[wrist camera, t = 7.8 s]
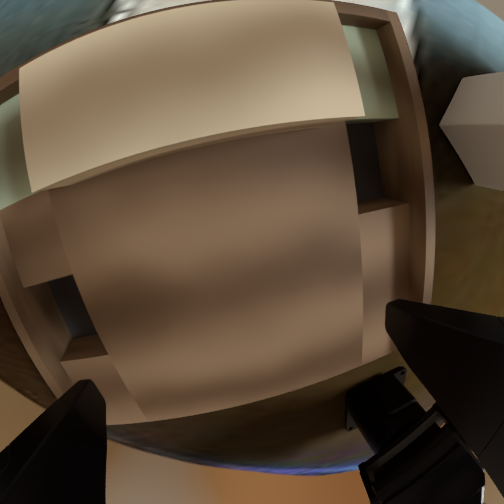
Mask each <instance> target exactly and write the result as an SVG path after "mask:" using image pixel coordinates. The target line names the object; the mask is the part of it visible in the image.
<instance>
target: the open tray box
mask: <svg viewBox="0 0 504 504" xmlns="http://www.w3.org/2000/svg"><path fill="white" fill-rule="evenodd" d="M222 1H233V0H211V1H203V2H196V3H190V4H184V5H179V6H173V7H169V8H164V9H159V10H155V11H151V12H147V13H143V14H140V15H136V16H132V17H129V18H126V19H122V20H119V21H116V22H113V23H110V24H107V25H104V26H102V27H99V28H96V29H94V30H91V31H89V32H86V33H84V34H81V35H79V36H76V37H74V38H72V39H70V40H67V41H65V42H63V43H61V44H59V45H57V46H55V47H53V48H51V49H49V50H47V51H45V52H43V53H41V54H39V55H37V56H35V57H33V58H32V59H30V60H28V61H26V62H25V63H23V64H21V65H20V66H18V67H16V68H15V69H13V70H12V71H10V72H8V73H7V74H5V75H4V76H2V77H1V78H0V297H1V300H2V302H3V304H4V306H5V309H6V311H7V313H8V315H9V317H10V320H11V322H12V324H13V326H14V328H15V330H16V332H17V334H18V336H19V337H20V339H21V341H22V343H23V345H24V347H25V349H26V350H27V352H28V354H29V356H30V357H31V359H32V361H33V362H34V364H35V366H36V367H37V369H38V371H39V372H40V374H41V375H42V377H43V378H44V380H45V381H46V383H47V385H48V386H49V387H50V389H51V390H52V392H53V393H54V395H55V396H56V398H57V399H59V398H60V397H61V396H62V395H63V394H64V393H65V392H66V391H67V390H68V389H70V388H71V387H72V386H73V385H74V384H75V383H76V382H77V381H79V380H83V379H91V380H92V381H93V382H94V383H95V385H96V386H97V388H98V389H99V391H100V392H101V394H102V395H103V397H104V399H105V402H106V425H117V424H129V423H140V422H149V421H158V420H165V419H172V418H179V417H185V416H191V415H196V414H202V413H207V412H212V411H217V410H222V409H226V408H231V407H235V406H239V405H243V404H247V403H251V402H255V401H259V400H263V399H266V398H270V397H273V396H277V395H280V394H283V393H287V392H290V391H293V390H296V389H299V388H303V387H306V386H309V385H311V384H314V383H317V382H320V381H323V380H326V379H328V378H331V377H334V376H336V375H339V374H342V373H344V372H347V371H349V370H352V369H354V368H357V367H359V366H362V365H364V364H366V363H369V362H371V361H373V360H376V359H378V358H380V357H382V356H384V355H387V354H389V353H391V352H393V351H395V350H397V347H396V346H395V344H394V343H393V341H392V340H391V338H390V337H389V335H388V334H387V332H386V329H385V309H386V304H387V303H388V302H390V301H392V300H395V299H398V298H399V299H404V300H410V301H415V302H420V303H426V304H431V297H432V287H433V275H434V258H435V196H434V179H433V167H432V158H431V149H430V141H429V134H428V128H427V122H426V116H425V110H424V105H423V100H422V96H421V91H420V87H419V82H418V78H417V74H416V71H415V67H414V63H413V60H412V56H411V53H410V50H409V46H408V43H407V40H406V37H405V34H404V31H403V28H402V26H401V23H400V20H399V17H398V15H397V13H395V12H391V11H387V10H383V9H379V8H374V7H369V6H364V5H359V4H353V3H347V2H340V1H332V0H314V1H325V2H334V5H335V7H336V10H337V13H338V16H339V19H340V22H341V25H342V28H343V31H344V34H345V37H346V40H347V44H348V47H349V51H350V54H351V58H352V61H353V65H354V69H355V73H356V77H357V81H358V85H359V89H360V94H361V98H362V103H363V108H364V112H365V116H364V117H360V118H355V119H351V120H347V121H343V122H339V123H335V124H331V125H328V126H324V127H319V128H310V129H301V130H293V131H286V132H278V133H272V134H265V135H259V136H253V137H247V138H242V139H236V140H231V141H226V142H221V143H216V144H211V145H207V146H202V147H198V148H193V149H189V150H185V151H181V152H177V153H173V154H169V155H165V156H161V157H158V158H154V159H150V160H147V161H143V162H140V163H137V164H133V165H130V166H127V167H123V168H120V169H117V170H114V171H111V172H108V173H105V174H102V175H99V176H96V177H93V178H90V179H88V180H85V181H82V182H79V183H77V184H74V185H68V186H63V187H58V188H53V189H48V190H43V191H38V192H34V193H32V191H31V186H30V181H29V176H28V171H27V165H26V159H25V152H24V145H23V137H22V127H21V116H20V98H19V68H21V67H23V66H24V65H26V64H28V63H29V62H31V61H33V60H35V59H37V58H38V57H40V56H42V55H44V54H46V53H48V52H50V51H52V50H54V49H56V48H58V47H60V46H62V45H64V44H66V43H69V42H71V41H73V40H75V39H78V38H80V37H83V36H85V35H87V34H90V33H93V32H95V31H98V30H100V29H103V28H106V27H109V26H112V25H115V24H118V23H121V22H124V21H127V20H131V19H134V18H138V17H141V16H145V15H149V14H153V13H157V12H161V11H166V10H170V9H175V8H181V7H186V6H192V5H198V4H205V3H213V2H222Z"/></svg>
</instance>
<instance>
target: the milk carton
mask: <svg viewBox="0 0 504 504" xmlns="http://www.w3.org/2000/svg"><path fill="white" fill-rule="evenodd" d="M439 126H440V128H441V129H442V130H443V132H444V133H445V135H446V136H447V138H448V140H449V141H450V143H451V144H452V146H453V147H454V149H455V151H456V152H457V154H458V155H459V157H460V159H461V160H462V162H463V164H464V166H465V167H466V169H467V171H468V173H469V174H470V176H471V178H472V180H473V182H474V184H475V185H477V186H482V187H488V188H493V189H498V190H502V191H504V72H498V73H490V74H483V75H476V76H470V77H465V78H462V80H461V82H460V84H459V86H458V88H457V90H456V92H455V94H454V96H453V98H452V100H451V102H450V104H449V106H448V108H447V110H446V112H445V114H444V116H443V118H442V120H441V122H440V124H439Z"/></svg>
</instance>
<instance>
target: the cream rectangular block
mask: <svg viewBox="0 0 504 504" xmlns="http://www.w3.org/2000/svg"><path fill="white" fill-rule="evenodd" d="M19 98H20V116H21V127H22V137H23V145H24V152H25V159H26V165H27V171H28V176H29V181H30V186H31V191H32V193H34V192H38V191H43V190H48V189H53V188H58V187H63V186H68V185H74V184H77V183H79V182H82V181H85V180H88V179H90V178H93V177H96V176H99V175H102V174H105V173H108V172H111V171H114V170H117V169H120V168H123V167H127V166H130V165H133V164H137V163H140V162H143V161H147V160H150V159H154V158H158V157H161V156H165V155H169V154H173V153H177V152H181V151H185V150H189V149H193V148H198V147H202V146H207V145H211V144H216V143H221V142H226V141H231V140H236V139H242V138H247V137H253V136H259V135H265V134H272V133H278V132H286V131H293V130H301V129H310V128H319V127H324V126H328V125H331V124H335V123H339V122H343V121H347V120H351V119H355V118H360V117H364V116H365V112H364V108H363V103H362V98H361V94H360V89H359V85H358V81H357V77H356V73H355V69H354V65H353V61H352V58H351V54H350V51H349V47H348V44H347V40H346V37H345V34H344V31H343V28H342V25H341V22H340V19H339V16H338V13H337V10H336V7H335V5H334V2H325V1H314V0H233V1H222V2H213V3H205V4H198V5H192V6H186V7H181V8H175V9H170V10H166V11H161V12H157V13H153V14H149V15H145V16H141V17H138V18H134V19H131V20H127V21H124V22H121V23H118V24H115V25H112V26H109V27H106V28H103V29H100V30H98V31H95V32H93V33H90V34H87V35H85V36H83V37H80V38H78V39H75V40H73V41H71V42H69V43H66V44H64V45H62V46H60V47H58V48H56V49H54V50H52V51H50V52H48V53H46V54H44V55H42V56H40V57H38V58H37V59H35V60H33V61H31V62H29V63H28V64H26V65H24V66H23V67H21V68H19Z"/></svg>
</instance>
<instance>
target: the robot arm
mask: <svg viewBox="0 0 504 504" xmlns="http://www.w3.org/2000/svg"><path fill="white" fill-rule="evenodd" d="M385 329H386V332H387V334H388V335H389V337H390V338H391V340H392V341H393V343H394V344H395V346H396V347H397V349H398V350H399V352H400V354H401V355H402V357H403V358H404V360H405V362H406V363H407V364H408V366H409V367H410V369H411V370H412V371H413V373H414V374H415V375H416V376H417V378H418V379H419V380H420V381H421V383H422V384H423V385H424V386H425V388H426V389H427V390H428V392H429V393H430V394H431V395H432V397H433V398H434V399H435V401H436V402H435V403H434V404H433V405H432V406H433V407H431V408H430V409H429V410H428V411H427V412H426V411H425V410H424V409H423V408H422V407H421V405H420V404H419V403H418V402H417V401H416V399H415V397H414V396H413V395H412V394H411V393H410V392H409V391H408V390H407V389H406V387H405V386H404V382H405V377H406V372H407V370H406V368H405V367H400V368H398V369H396V370H394V371H392V372H390V373H388V374H386V375H384V376H382V377H380V378H377V379H375V380H373V381H371V382H369V383H366V384H364V385H362V386H359V387H357V388H355V389H352V390H350V391H349V392H348V393H347V396H346V417H345V429H346V431H351V430H354V429H356V428H358V429H359V430H360V432H361V433H362V435H363V436H364V438H365V440H366V441H367V443H368V444H369V446H370V448H371V449H372V451H373V452H374V454H375V455H374V456H372V457H371V458H370V459H368V460H367V461H365V462H362V463H361V464H359V465H358V467H359V470H360V475H361V478H362V481H363V483H364V486H365V488H366V491H367V494H368V497H369V500H370V504H486V503H485V502H484V501H483V500H484V485H485V474H484V469H485V470H486V472H487V473H488V475H489V476H490V478H491V479H492V481H493V482H494V484H495V485H496V487H497V488H498V490H499V491H500V493H501V494H502V496H503V497H504V317H496V316H492V315H486V314H481V313H475V312H469V311H464V310H458V309H453V308H447V307H442V306H436V305H431V304H426V303H420V302H415V301H410V300H404V299H399V298H398V299H395V300H392V301H390V302H388V303H387V304H386V309H385ZM443 423H445V425H444V426H443V427H442V428H440V426H441V425H442V424H443ZM472 452H474V454H475V455H476V456H477V458H478V459H477V458H476V457H475V456H474V455H473V453H472ZM106 455H107V431H106V402H105V399H104V397H103V395H102V394H101V392H100V391H99V389H98V388H97V386H96V385H95V383H94V382H93V381H92V380H91V379H83V380H79V381H77V382H76V383H75V384H74V385H73V386H72V387H71V388H70V389H68V390H67V391H66V392H65V393H64V394H63V395H62V396H61V397H60V398H59V399H57V400H56V401H55V402H54V403H53V404H52V405H51V406H50V407H49V408H48V409H46V410H45V411H44V412H43V413H42V414H41V415H40V416H39V417H38V418H37V419H36V420H35V421H33V422H32V423H31V424H30V425H29V426H28V427H27V428H26V429H25V430H24V431H23V432H22V433H21V434H19V436H17V437H16V438H15V439H14V440H13V441H12V442H11V443H10V444H9V445H8V446H7V447H6V448H5V449H3V450H2V451H1V452H0V504H106V502H105V487H106V486H105V483H106ZM479 461H480V462H479Z"/></svg>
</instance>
